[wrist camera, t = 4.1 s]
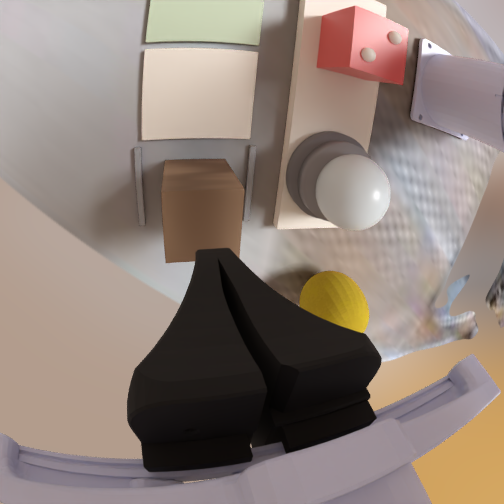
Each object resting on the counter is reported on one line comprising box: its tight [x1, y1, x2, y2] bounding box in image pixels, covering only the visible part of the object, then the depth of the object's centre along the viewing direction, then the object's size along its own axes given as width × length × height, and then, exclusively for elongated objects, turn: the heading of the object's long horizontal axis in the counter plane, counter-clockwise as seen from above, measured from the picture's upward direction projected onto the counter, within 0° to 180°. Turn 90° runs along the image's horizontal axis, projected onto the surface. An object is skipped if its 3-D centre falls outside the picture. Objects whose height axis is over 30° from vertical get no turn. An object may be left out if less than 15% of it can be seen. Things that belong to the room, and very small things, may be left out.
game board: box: [134, 0, 386, 229], centre depth 16 cm, size 16×19×2 cm
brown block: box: [161, 159, 245, 263], centre depth 17 cm, size 4×4×6 cm
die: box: [317, 5, 408, 85], centre depth 13 cm, size 4×4×4 cm
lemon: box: [299, 271, 369, 333], centre depth 23 cm, size 6×6×8 cm
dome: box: [298, 140, 391, 231], centre depth 17 cm, size 6×6×5 cm
